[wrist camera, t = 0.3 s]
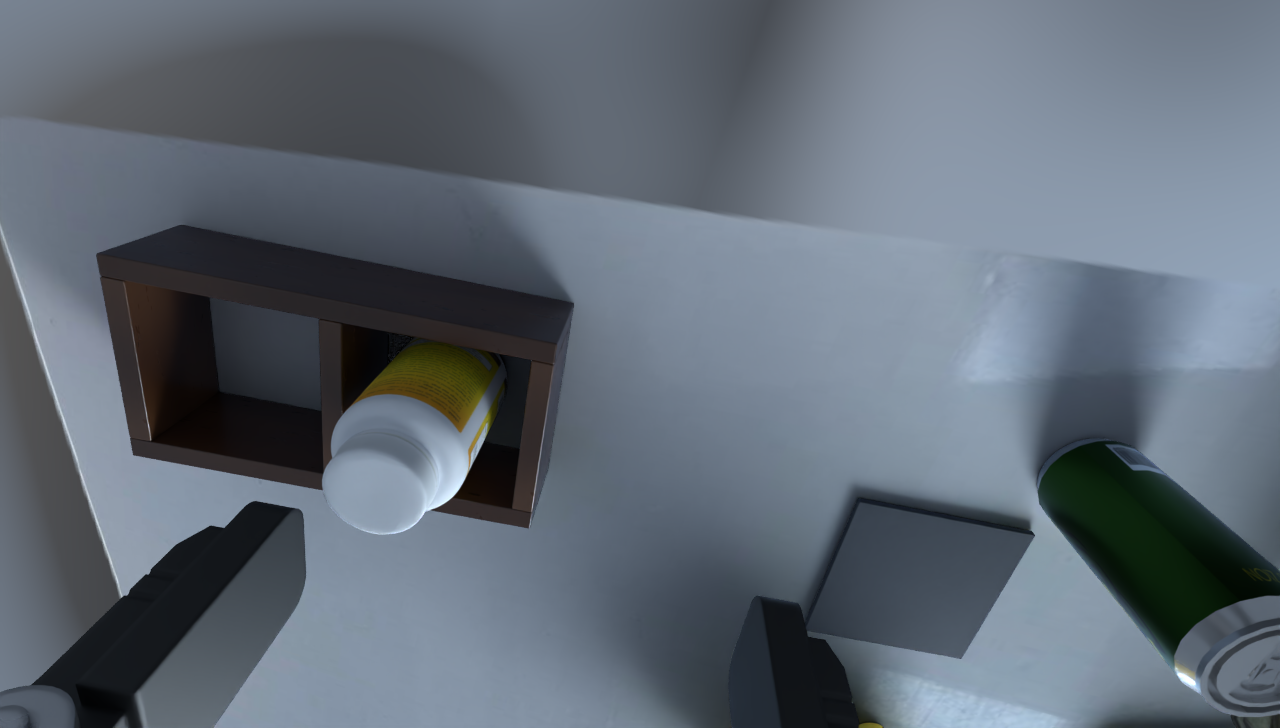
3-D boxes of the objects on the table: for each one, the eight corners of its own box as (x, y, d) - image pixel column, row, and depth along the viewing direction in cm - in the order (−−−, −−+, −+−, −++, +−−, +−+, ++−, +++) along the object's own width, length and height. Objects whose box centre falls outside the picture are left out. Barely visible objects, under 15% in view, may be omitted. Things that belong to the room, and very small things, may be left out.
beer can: (1053, 426, 33) (1239, 608, 22) (1158, 439, 33) (1395, 627, 22) (1015, 510, 35) (1166, 712, 24) (1113, 522, 35) (1307, 729, 24)
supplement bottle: (391, 327, 32) (276, 435, 23) (498, 317, 32) (425, 425, 22) (419, 422, 35) (326, 555, 25) (520, 415, 34) (462, 548, 25)
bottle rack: (180, 224, 30) (94, 253, 26) (574, 302, 31) (557, 344, 27) (202, 404, 35) (132, 455, 30) (548, 469, 36) (529, 529, 31)
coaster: (857, 497, 35) (859, 501, 35) (1031, 530, 36) (1035, 535, 35) (803, 625, 40) (804, 630, 39) (959, 653, 40) (961, 659, 40)
